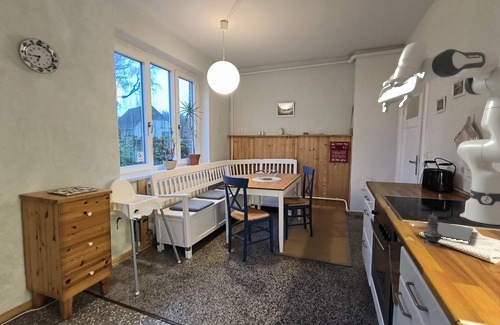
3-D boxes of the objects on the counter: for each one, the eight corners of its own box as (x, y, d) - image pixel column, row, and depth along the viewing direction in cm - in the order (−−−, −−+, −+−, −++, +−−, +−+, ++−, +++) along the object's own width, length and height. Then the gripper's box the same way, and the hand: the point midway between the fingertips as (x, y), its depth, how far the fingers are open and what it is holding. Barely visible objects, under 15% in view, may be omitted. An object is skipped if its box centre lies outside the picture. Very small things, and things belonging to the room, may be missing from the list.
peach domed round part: (411, 222, 118) (411, 220, 117) (431, 226, 112) (431, 224, 112) (406, 226, 112) (406, 224, 112) (427, 230, 106) (427, 228, 106)
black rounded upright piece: (445, 246, 90) (446, 215, 89) (427, 245, 91) (428, 214, 90) (436, 240, 95) (437, 210, 94) (419, 239, 96) (420, 210, 95)
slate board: (437, 225, 112) (437, 222, 112) (472, 231, 103) (473, 228, 103) (429, 236, 99) (429, 232, 99) (468, 244, 91) (468, 240, 90)
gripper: (433, 73, 90) (421, 107, 89) (392, 90, 110) (382, 118, 109) (419, 66, 89) (407, 100, 88) (380, 84, 109) (370, 112, 108)
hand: (393, 110), depth 99 cm, fingers open, 8 cm apart
